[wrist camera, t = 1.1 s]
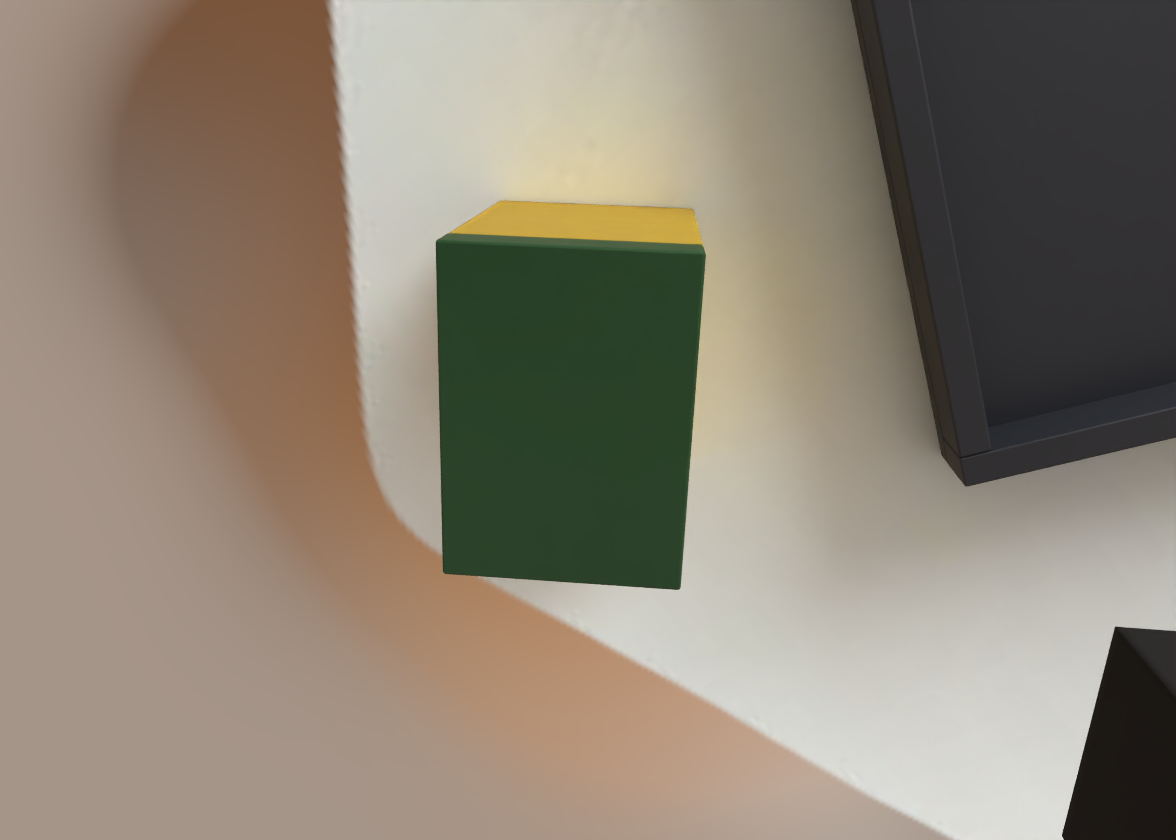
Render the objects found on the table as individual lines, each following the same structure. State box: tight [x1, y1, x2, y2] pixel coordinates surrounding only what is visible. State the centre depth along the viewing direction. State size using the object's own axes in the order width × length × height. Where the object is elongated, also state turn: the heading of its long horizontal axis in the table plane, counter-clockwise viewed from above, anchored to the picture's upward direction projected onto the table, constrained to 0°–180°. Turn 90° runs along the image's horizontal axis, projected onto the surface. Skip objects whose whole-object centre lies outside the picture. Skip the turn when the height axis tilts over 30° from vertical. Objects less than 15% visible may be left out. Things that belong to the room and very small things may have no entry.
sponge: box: [436, 201, 706, 590], centre depth 21 cm, size 7×5×7 cm
